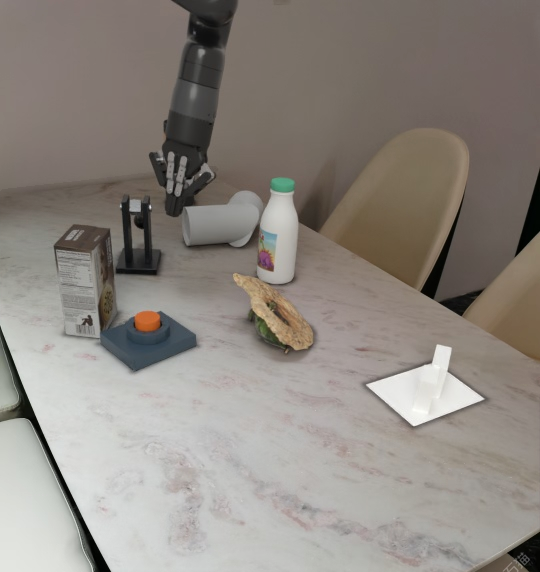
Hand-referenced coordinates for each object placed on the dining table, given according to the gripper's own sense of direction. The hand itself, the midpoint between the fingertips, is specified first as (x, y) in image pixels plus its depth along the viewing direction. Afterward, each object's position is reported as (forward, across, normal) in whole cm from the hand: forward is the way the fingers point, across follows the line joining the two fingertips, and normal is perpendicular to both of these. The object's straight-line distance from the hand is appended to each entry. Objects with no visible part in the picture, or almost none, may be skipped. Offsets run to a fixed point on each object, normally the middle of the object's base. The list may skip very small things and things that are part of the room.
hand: (172, 215), depth 105 cm
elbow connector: (+10, -6, +32) cm, 34 cm away
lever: (+7, -15, +12) cm, 20 cm away
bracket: (+15, -12, +10) cm, 22 cm away
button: (+15, +8, -14) cm, 22 cm away
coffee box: (+20, -4, -13) cm, 24 cm away
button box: (+18, +8, -13) cm, 24 cm away
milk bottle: (+10, +14, +21) cm, 27 cm away
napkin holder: (+11, +51, -1) cm, 53 cm away
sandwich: (+13, +24, +2) cm, 27 cm away
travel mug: (+9, -27, +45) cm, 54 cm away
